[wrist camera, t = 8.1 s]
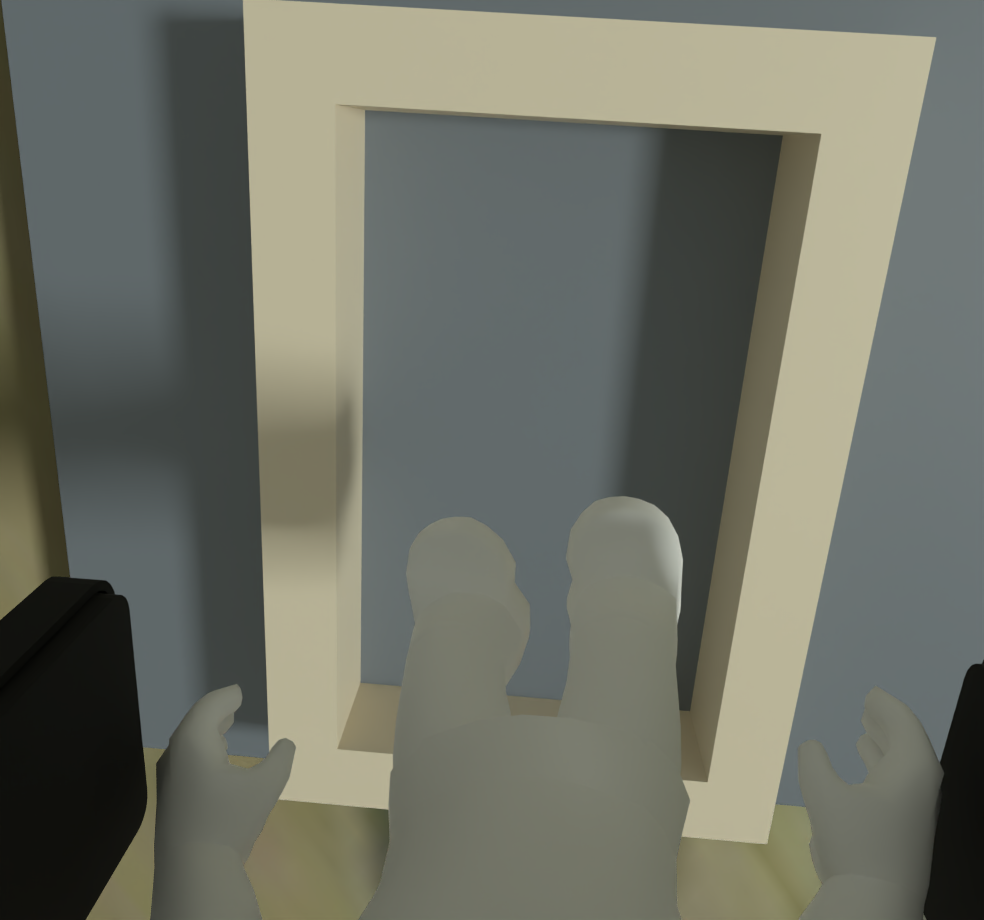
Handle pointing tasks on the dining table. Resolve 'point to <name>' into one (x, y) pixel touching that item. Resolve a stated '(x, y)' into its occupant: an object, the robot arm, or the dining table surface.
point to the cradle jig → (517, 348)
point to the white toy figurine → (545, 758)
